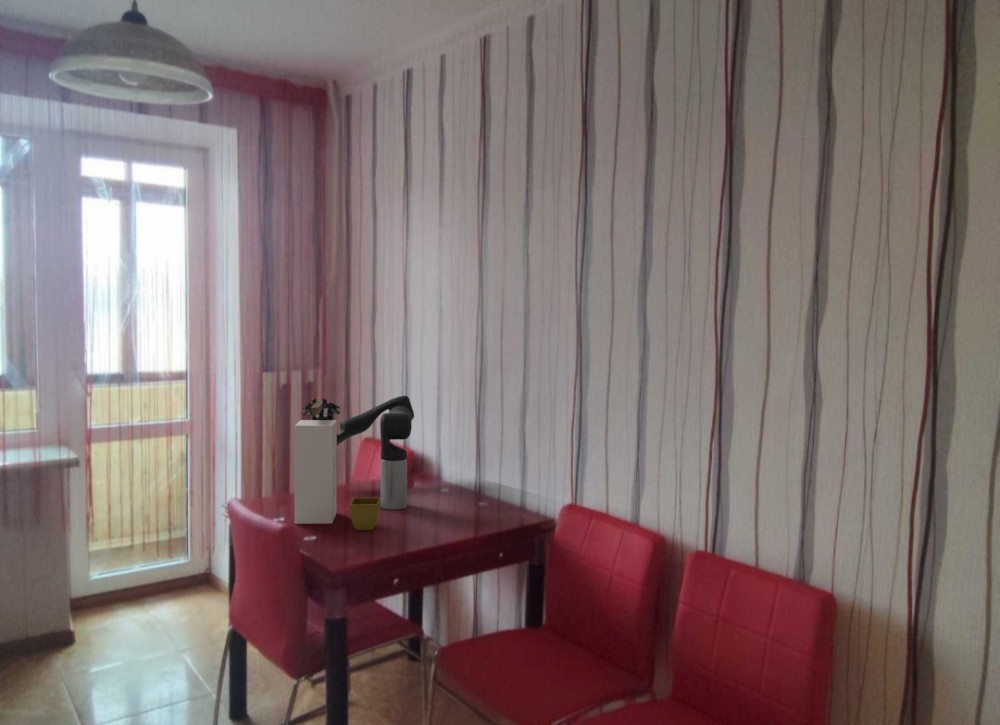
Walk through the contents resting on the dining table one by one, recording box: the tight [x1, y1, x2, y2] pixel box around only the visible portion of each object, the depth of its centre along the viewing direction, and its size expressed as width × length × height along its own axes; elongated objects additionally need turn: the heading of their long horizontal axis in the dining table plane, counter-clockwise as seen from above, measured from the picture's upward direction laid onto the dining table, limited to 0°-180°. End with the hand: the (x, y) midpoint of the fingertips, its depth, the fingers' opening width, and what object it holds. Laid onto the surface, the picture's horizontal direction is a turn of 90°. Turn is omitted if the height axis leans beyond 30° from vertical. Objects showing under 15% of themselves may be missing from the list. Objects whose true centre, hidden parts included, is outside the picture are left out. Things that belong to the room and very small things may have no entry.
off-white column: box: [293, 419, 338, 525], centre depth 248 cm, size 12×12×32 cm
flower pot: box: [349, 497, 381, 531], centre depth 239 cm, size 9×9×9 cm
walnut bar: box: [311, 399, 323, 415], centre depth 257 cm, size 2×22×2 cm, turn 8°
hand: (319, 401), depth 261 cm, fingers closed on walnut bar, 2 cm apart
